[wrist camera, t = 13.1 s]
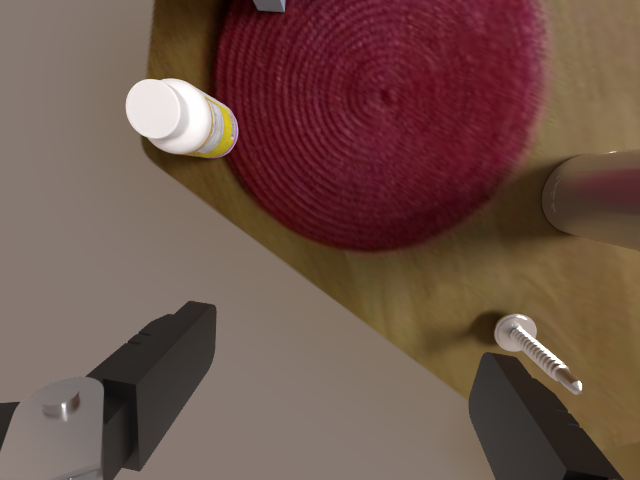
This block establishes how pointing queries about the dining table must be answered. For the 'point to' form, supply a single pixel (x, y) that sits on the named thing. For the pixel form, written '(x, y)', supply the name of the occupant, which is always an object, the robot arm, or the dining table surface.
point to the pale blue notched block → (270, 5)
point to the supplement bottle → (181, 118)
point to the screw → (533, 348)
